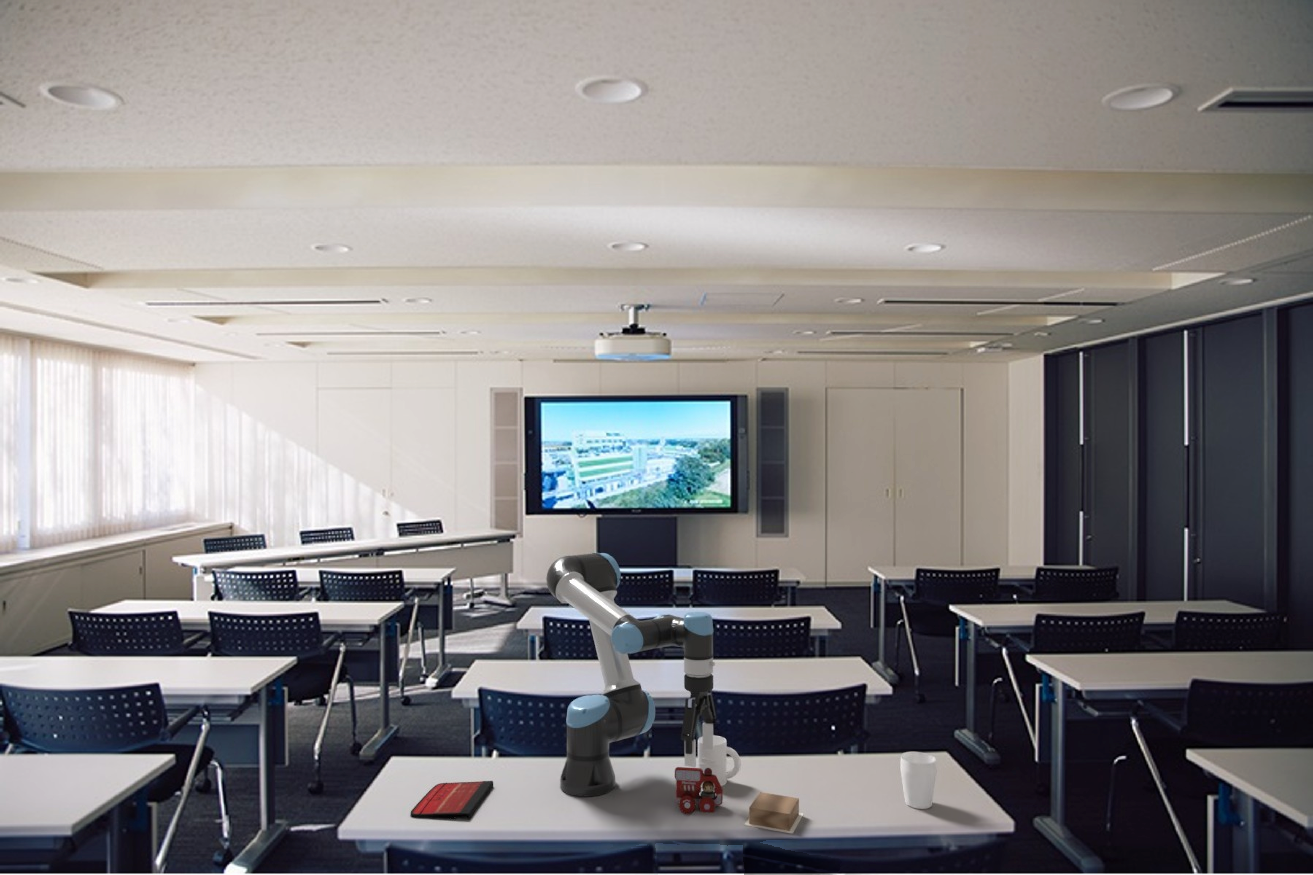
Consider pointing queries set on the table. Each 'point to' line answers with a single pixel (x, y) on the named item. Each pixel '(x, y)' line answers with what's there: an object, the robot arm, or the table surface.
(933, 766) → the cup
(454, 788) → the binder
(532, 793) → the table surface
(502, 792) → the table surface
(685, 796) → the toy fire truck
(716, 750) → the mug
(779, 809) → the base block
